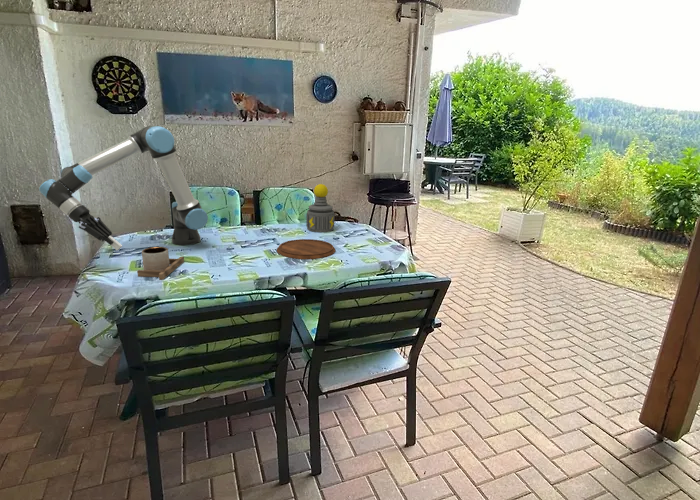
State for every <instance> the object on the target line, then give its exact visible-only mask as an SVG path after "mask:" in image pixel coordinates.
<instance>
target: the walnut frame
mask: <svg viewBox="0 0 700 500" xmlns="http://www.w3.org/2000/svg"><path fill="white" fill-rule="evenodd" d="M169 262H170V266H168V267H167V268H166V269H165V270H163V271H161V270H144V269H138V270H136V271H137V277H138V278H139V277H141V278H142V277H143V278H145V277H148V278H149V277H150V278H158V280H161V281H162V280H164V279H165V278H167V277H168V276H169V275H170V274H171V273H173V272H174V271H175V270H176V269H177V268H179V267H180V266H181V265H183V263H184V262H185V257H184V256H180V257H179V258H170V257H169Z"/></svg>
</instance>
